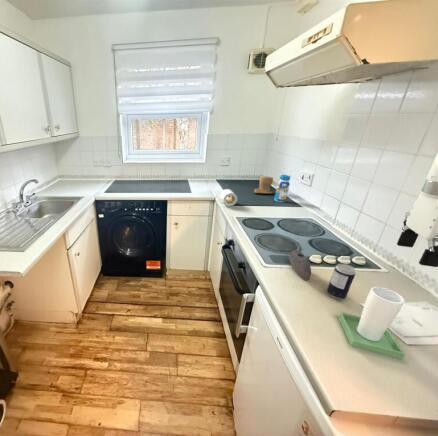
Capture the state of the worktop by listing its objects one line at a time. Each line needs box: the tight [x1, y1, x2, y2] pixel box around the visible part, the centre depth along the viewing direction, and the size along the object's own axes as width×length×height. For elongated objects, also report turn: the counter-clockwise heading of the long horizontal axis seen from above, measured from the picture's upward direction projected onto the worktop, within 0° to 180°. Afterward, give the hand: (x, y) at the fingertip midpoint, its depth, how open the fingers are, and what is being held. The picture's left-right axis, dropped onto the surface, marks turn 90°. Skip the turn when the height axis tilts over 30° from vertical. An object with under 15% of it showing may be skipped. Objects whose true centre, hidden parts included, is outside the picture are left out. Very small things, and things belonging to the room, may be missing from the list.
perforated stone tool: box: [288, 249, 312, 281], centre depth 98 cm, size 15×5×7 cm, turn 168°
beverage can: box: [326, 263, 356, 300], centre depth 85 cm, size 6×6×12 cm
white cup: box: [357, 286, 405, 341], centre depth 67 cm, size 7×7×15 cm
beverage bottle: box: [273, 174, 291, 203], centre depth 183 cm, size 8×8×20 cm
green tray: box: [337, 311, 406, 360], centre depth 70 cm, size 11×12×2 cm
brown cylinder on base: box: [254, 175, 274, 195], centre depth 204 cm, size 15×12×15 cm
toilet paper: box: [219, 188, 238, 207], centre depth 178 cm, size 10×10×10 cm
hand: (415, 255), depth 60 cm, fingers open, 9 cm apart
